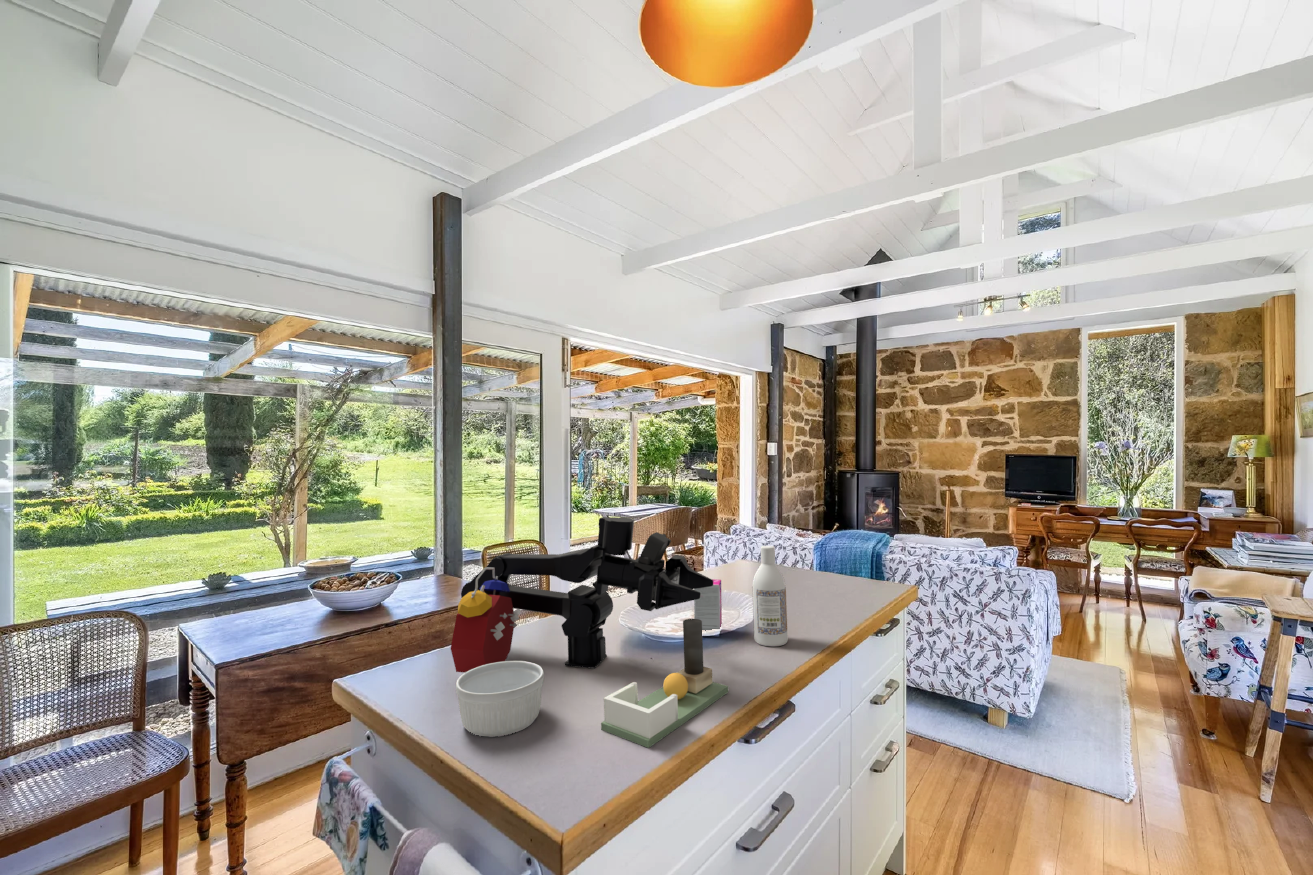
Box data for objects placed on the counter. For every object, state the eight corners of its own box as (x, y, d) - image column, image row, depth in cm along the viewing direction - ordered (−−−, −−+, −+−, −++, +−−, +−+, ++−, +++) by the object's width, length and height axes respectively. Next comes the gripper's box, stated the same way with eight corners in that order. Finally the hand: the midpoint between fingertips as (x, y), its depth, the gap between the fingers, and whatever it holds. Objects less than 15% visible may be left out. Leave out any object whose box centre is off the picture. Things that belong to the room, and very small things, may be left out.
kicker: (676, 687, 93) (674, 623, 94) (693, 677, 97) (691, 615, 98) (696, 693, 91) (693, 627, 91) (712, 682, 95) (710, 619, 95)
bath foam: (793, 645, 115) (790, 548, 116) (762, 648, 114) (758, 550, 114) (779, 634, 122) (775, 543, 123) (749, 638, 121) (746, 545, 121)
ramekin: (475, 702, 93) (474, 660, 94) (553, 700, 93) (552, 658, 93) (442, 743, 80) (441, 694, 80) (533, 742, 80) (531, 693, 80)
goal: (603, 721, 83) (603, 697, 83) (634, 703, 89) (633, 681, 89) (650, 738, 78) (649, 713, 78) (679, 718, 83) (678, 695, 83)
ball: (660, 702, 89) (659, 677, 89) (667, 692, 92) (666, 667, 93) (685, 705, 87) (684, 679, 88) (691, 694, 91) (690, 669, 91)
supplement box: (720, 637, 121) (719, 584, 122) (693, 636, 123) (692, 584, 123) (723, 629, 127) (721, 578, 127) (697, 628, 128) (695, 578, 129)
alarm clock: (485, 653, 113) (486, 556, 112) (526, 657, 112) (527, 558, 111) (449, 689, 98) (449, 577, 98) (495, 693, 97) (497, 580, 96)
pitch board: (601, 729, 83) (601, 722, 83) (684, 679, 100) (684, 674, 100) (648, 747, 77) (648, 740, 77) (728, 691, 94) (728, 685, 94)
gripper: (611, 540, 98) (697, 554, 93) (649, 525, 115) (723, 537, 110) (606, 602, 98) (690, 621, 93) (644, 578, 116) (717, 592, 110)
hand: (706, 589), depth 102 cm, fingers open, 9 cm apart
